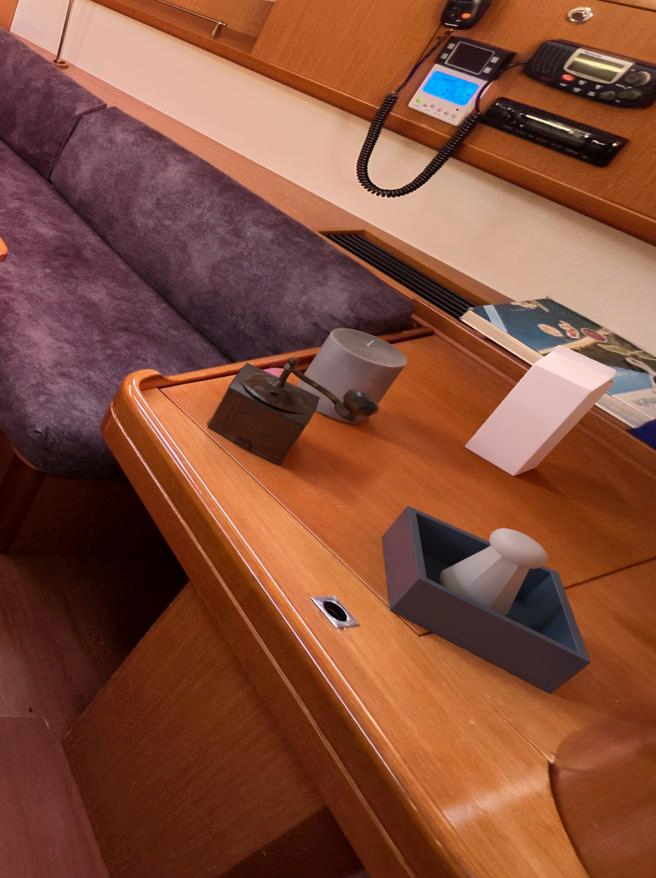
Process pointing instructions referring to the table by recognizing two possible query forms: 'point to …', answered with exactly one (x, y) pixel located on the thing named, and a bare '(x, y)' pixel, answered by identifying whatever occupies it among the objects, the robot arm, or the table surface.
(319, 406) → the pillar candle
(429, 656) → the table surface
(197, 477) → the table surface
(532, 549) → the salt shaker
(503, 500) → the table surface
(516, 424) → the milk
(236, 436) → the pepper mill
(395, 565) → the bin
